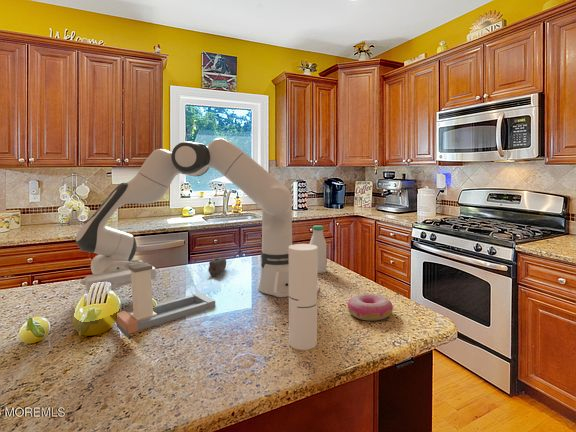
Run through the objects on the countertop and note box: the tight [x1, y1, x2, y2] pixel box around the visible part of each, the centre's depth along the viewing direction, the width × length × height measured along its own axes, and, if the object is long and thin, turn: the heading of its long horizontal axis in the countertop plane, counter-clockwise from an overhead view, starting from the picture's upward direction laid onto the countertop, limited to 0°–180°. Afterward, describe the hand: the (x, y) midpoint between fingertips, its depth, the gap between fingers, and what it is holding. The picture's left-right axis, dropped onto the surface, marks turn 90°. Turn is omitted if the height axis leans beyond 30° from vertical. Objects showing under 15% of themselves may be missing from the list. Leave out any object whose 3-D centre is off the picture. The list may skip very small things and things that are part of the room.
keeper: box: [128, 261, 157, 322], centre depth 95 cm, size 6×6×16 cm
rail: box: [115, 292, 216, 340], centre depth 101 cm, size 26×10×4 cm, turn 133°
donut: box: [347, 293, 394, 322], centre depth 104 cm, size 14×13×5 cm
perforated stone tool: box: [207, 256, 227, 277], centre depth 146 cm, size 15×5×7 cm, turn 169°
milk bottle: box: [309, 224, 328, 274], centre depth 148 cm, size 8×8×20 cm
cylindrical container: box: [288, 243, 318, 351], centre depth 85 cm, size 7×7×25 cm
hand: (130, 283), depth 101 cm, fingers open, 8 cm apart
